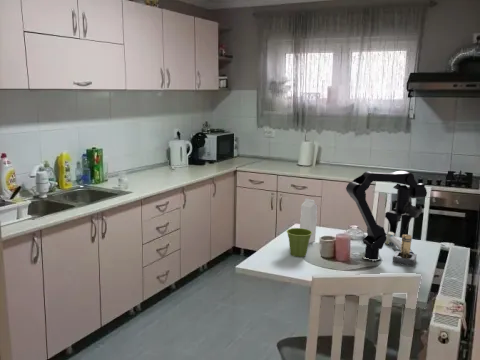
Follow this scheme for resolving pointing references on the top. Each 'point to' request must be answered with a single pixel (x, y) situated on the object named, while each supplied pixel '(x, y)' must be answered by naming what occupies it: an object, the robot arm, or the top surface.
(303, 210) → the milk
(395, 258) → the collar
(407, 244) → the disc
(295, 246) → the plant pot
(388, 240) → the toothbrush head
